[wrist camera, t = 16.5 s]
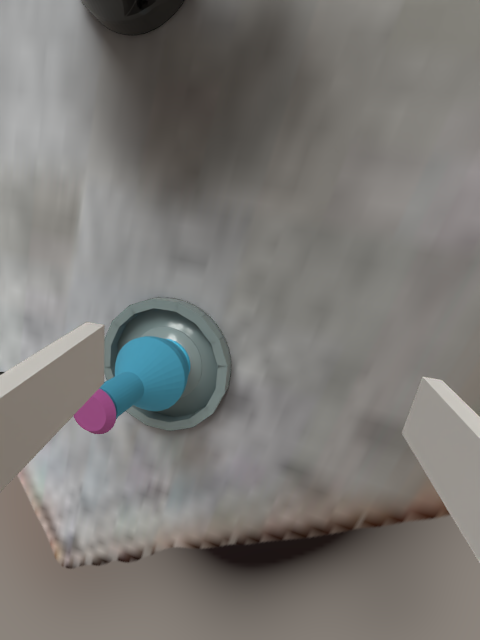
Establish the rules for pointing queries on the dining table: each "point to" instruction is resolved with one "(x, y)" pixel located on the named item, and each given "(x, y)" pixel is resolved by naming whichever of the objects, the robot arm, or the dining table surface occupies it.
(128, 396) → the perfume bottle
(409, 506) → the dining table surface
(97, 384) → the robot arm
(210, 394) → the round dish
